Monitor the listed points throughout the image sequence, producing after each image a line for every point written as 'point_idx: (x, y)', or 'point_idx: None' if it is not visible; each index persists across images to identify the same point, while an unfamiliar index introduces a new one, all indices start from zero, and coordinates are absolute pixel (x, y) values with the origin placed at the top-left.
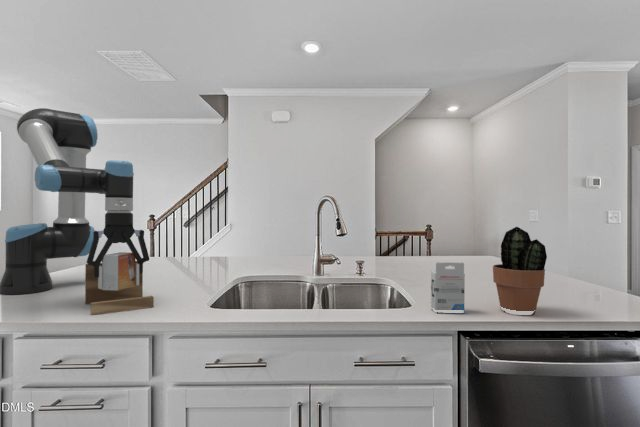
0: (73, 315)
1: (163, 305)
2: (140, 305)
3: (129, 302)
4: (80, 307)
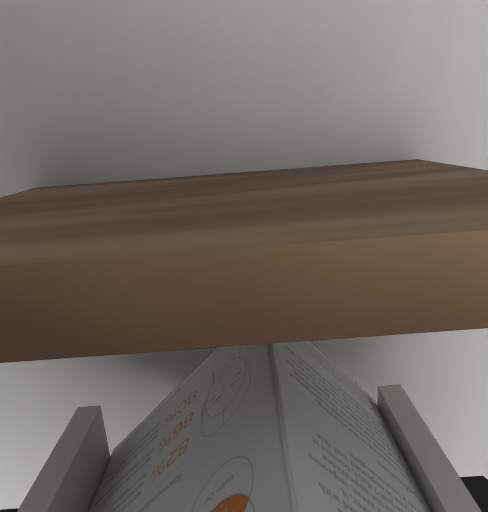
0: (15, 470)
1: (461, 469)
2: None
3: None
4: None
